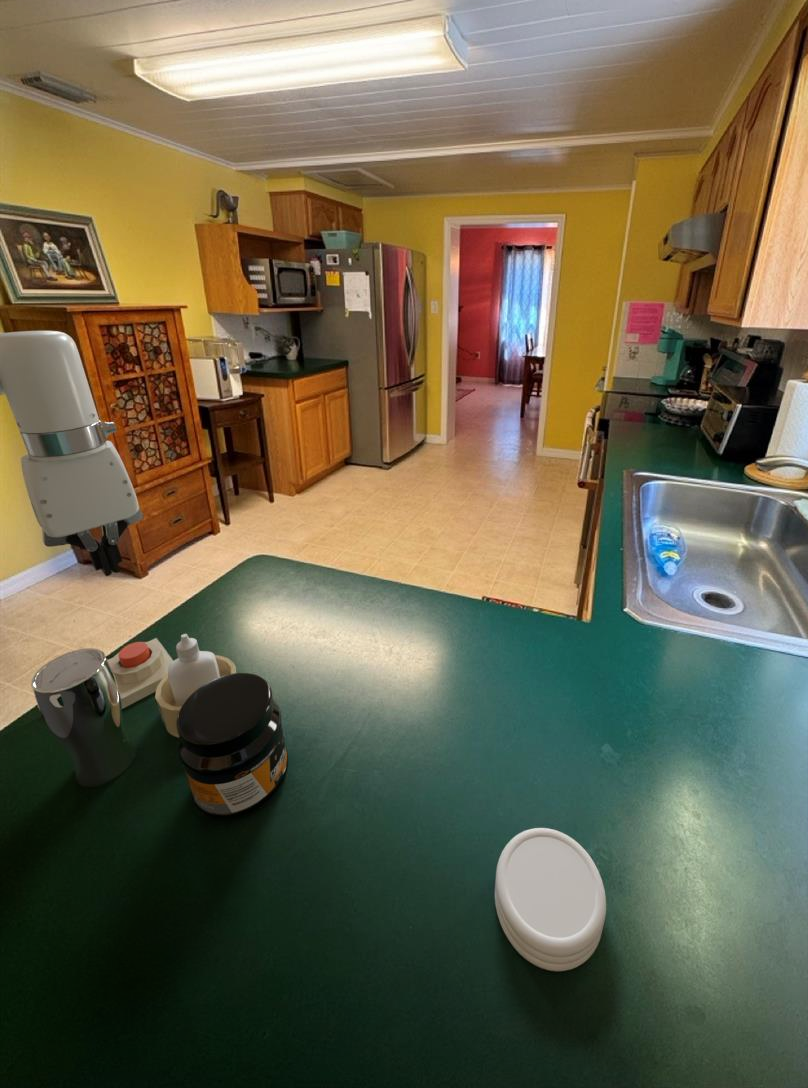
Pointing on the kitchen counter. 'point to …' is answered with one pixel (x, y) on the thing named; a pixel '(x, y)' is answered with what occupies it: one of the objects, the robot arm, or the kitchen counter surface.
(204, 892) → the kitchen counter surface
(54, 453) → the robot arm
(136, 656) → the button
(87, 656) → the silver rounded piece
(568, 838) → the coaster
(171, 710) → the holder
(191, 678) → the eye dropper bottle
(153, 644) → the button base
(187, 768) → the supplement container
